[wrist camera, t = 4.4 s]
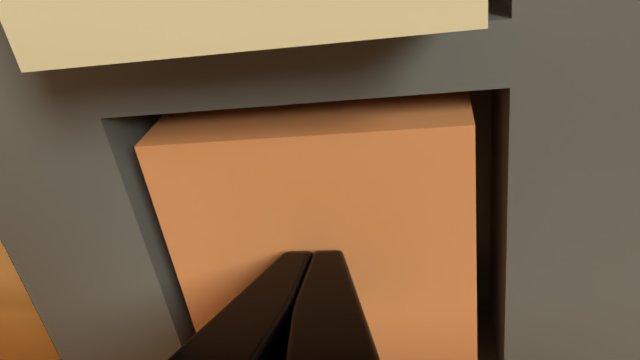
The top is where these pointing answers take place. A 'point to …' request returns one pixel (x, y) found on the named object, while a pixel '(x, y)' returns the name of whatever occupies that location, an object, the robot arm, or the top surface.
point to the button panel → (336, 85)
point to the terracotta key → (329, 207)
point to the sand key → (212, 26)
